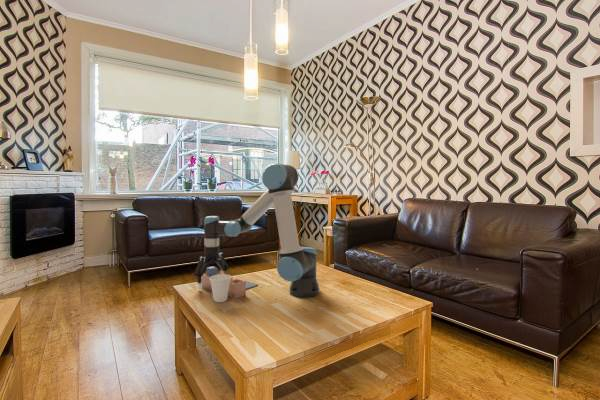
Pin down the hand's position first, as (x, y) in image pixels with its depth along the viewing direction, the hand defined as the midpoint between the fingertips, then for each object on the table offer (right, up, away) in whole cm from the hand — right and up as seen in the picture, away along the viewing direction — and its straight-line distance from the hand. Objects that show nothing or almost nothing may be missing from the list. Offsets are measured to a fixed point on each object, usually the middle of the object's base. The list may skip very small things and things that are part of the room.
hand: (211, 285), depth 167 cm
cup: (+9, -2, -18) cm, 20 cm away
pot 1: (0, -1, 0) cm, 1 cm away
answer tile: (+17, -1, +3) cm, 17 cm away
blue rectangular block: (0, +2, 0) cm, 2 cm away
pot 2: (+15, -2, -11) cm, 19 cm away
